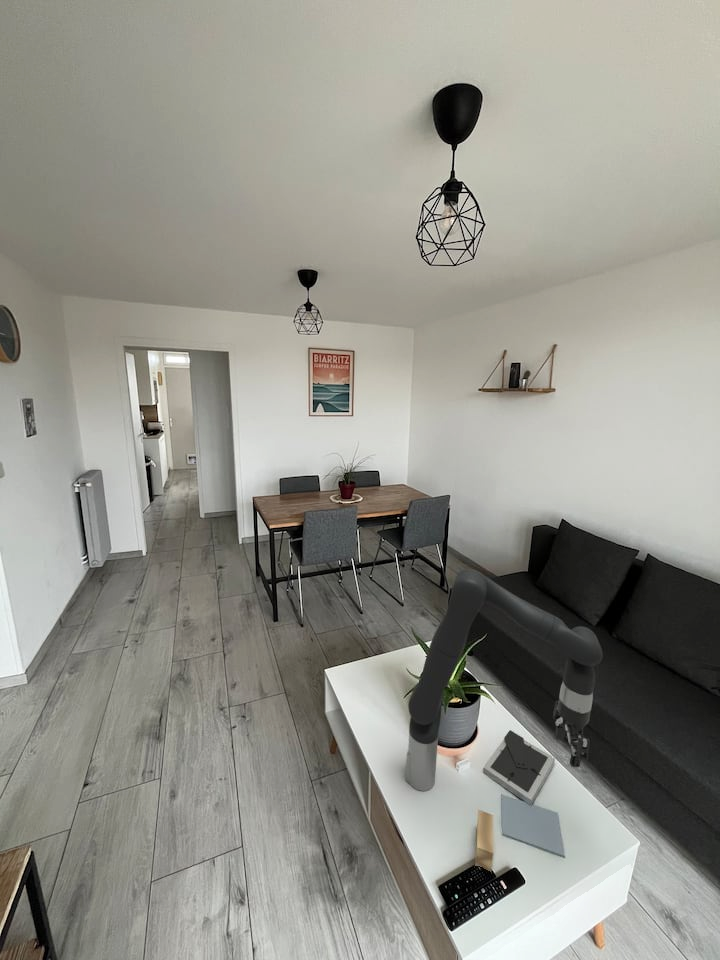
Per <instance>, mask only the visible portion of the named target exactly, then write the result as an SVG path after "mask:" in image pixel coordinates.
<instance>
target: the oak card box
mask: <svg viewBox="0 0 720 960" xmlns="http://www.w3.org/2000/svg"><path fill="white" fill-rule="evenodd" d="M476 819H477V820H476V821H477V822H476V832H475V833H476V835H475V836H476V837H475V838H476V839H475V857H474V858H475V859H474V861H475V863H474V864H475V865H474V867H475V866H480V867H483V868H484V869H486V870H488V871H490V872H491V873H492V869H493V860H494V814H492V813H489V812H486V811H483V810H480V809H478V810H477V818H476Z"/></svg>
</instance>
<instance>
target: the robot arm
mask: <svg viewBox="0 0 720 960" xmlns="http://www.w3.org/2000/svg"><path fill="white" fill-rule="evenodd" d="M484 603H487V604H489V605H490V606H493V607H495V608H496V609H498V610H500V611H501V612H502V613H503V614H505V615H506V616H507V617H508V618H509V619H511V620H512V621H513V622H514V623H515V624H517V625H518V626H519V627H521V628H522V629H523V630H525V631H527V632H528V633H530V634H531V635H534V636H536V637H538V638H539V639H541V640H543V641H545V642H547V643H550V644H551V646H552V645H553V646H554V647H555V648H556V649H557V650H559V651H560V652H562V653H563V654H564V655H565V656H566V662H565V667H564V672H563V679H562V683H561V685H560V690H559V697H558V700H555V703H554V709H553V713H552V718H553V720H555V726H556V727H555V734H554V736H555V738H556V739H557V740H562V741H563V740H564V739H565V734H566V735H567V740H568V744H569V746H570V749H571V754H570V760H569V766H570V767H571V768H580V767H581V761H585V762H588V761H589V755H590V748H591V747H590V745H591V741H590V738H586V737H585V736H584V727H586V726H587V725H588V724H589V722H590V717H591V711H592V705H593V700H594V697H593V695H594V688H595V683H596V673H595V667H594V666H597V665H599V664H601V662H602V660H603V657H604V655H603V654H604V653H603V650H602V647H601V644H600V642H599V640H598V639H599V638H598V637H597V635H596V634H595V633H594V632H593V630H592V629H590V628H588V627H586V626H581V625H580V626H576V627H574V628H572V629H570V628H569V627H568V626H567V625H566V624H565V622H564V621H563V620H562V619H560V618H559V617H558V616H556V615H553V614H551V613H550V612H547V611H546V610H543V609H541V608H540V607H537V606H535V605H533V604H531V603H530V602H528V601H526V600H524V599H522V598H520V597H519V596H517V595H516V594H513V593H512V592H510V591H509V590H507V589H505V588H504V587H503V586H501V585H500V584H498V583H496V582H495V581H493V580H492V579H491V578H489V577H488V576H486V575H485V574H483V573H482V572H480V571H478V570H477V569H474V568H464V569H462V570H459V572H458V573H457V574H456V576H455V578H454V582H453V584H452V588H451V593H450V598H449V602H448V605H447V609H446V612H445V615H444V618H443V619H442V621H441V622H440V624H439V625H438V627H437V629H436V631H435V632H434V634H433V637H432V639H431V642H430V645H429V647H428V650H427V654H426V657H425V661H424V664H423V670H422V673H421V676H420V680H419V682H417V683H416V684H415V686H414V687H413V690H412V692H411V695H410V697H409V700H408V712H409V715H410V720H409V725H408V726H409V727H408V744H407V745H408V748H407V752H406V760H405V761H406V763H405V777H404V778H405V780H404V781H405V782H407V783H408V784H409V785H411V787H413V789H415V790H417V791H422V792H426V791H429V790H431V789H433V787H434V785H435V783H436V773H437V772H436V770H437V758H438V755H437V754H438V743H439V741H438V739H439V730H440V726H441V725H440V724H441V717H442V708H443V707H442V705H443V694H444V692H445V689H446V687H447V685H448V684H449V682H450V680H451V678H452V676H453V674H454V672H455V670H456V668H457V666H458V664H459V663H460V660H461V657H462V655H463V652H464V650H465V648H466V647H465V646H466V643H467V640H468V635H469V632H470V629H471V626H472V624H473V622H474V620H475V618H476V616H477V614H478V612H480V609H481V608H482V606H483V605H484ZM573 739H574V740H575V739H576V741H574V740H573Z"/></svg>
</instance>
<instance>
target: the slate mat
mask: <svg viewBox="0 0 720 960" xmlns="http://www.w3.org/2000/svg"><path fill="white" fill-rule="evenodd" d="M500 797H501V798H500V799H501V801H500V802H501V803H500V804H501V806H500V807H501V832H502V833H501V836H503V837H505V838H508V839H511V840H514V841H517V842H520V843H522V844H525V845H528V846H531V847H534V848H537V849H540V850H542V851H545V852H548V853H550V854H553V855H556V856H559V857H562V858H566V854H565V853H566V852H565V846H564V842H563V841H564V840H563V835H562V829H561V823H560V816H559V812H557V811H554V810H551V809H548V808H545V807H542V806H539V805H535V804H534V803H532V805H529V804H528V803H526V802H525V801H523V800H522V799H517V798H514V797H511V796H509V795H505V794H501V796H500Z"/></svg>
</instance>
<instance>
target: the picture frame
mask: <svg viewBox="0 0 720 960" xmlns="http://www.w3.org/2000/svg"><path fill="white" fill-rule="evenodd" d="M552 757H553V758H552ZM555 761H556V757H555V756H553V755H551V754H549V753H548V752H545V751H544V750H542V749H540V748H539V747H537V746H535V745H534V744H532V743H530V742H528V741H527V740H525V739H524V737H522V736H521V735H519V734H518V733H515V731H513V730H510V729H509V731H508V732H507V733H506V734H505V736H504V737H503V740H502V742H501V743H499V745H498V747H497V748H496V749H495V751H494V753H492V755H491V756H490V758H489V759H488V760H487V762H486V763H485V764H484V765H483V768H482V773H483V774H484V775H486V776H487V777H489V778H490V779H491V780H493V781H494V782H496V783H497V784H499V785H501V787H503V788H505V789H506V790H507V791H508V792H510V793H512V794H513V795H515V796H516V797H518V798H519V799H520V800H521V801H524V802H526V803H528V804H529V805H532V804H534V801H535V800H536V798H537V796H538V794H539V793H540V790H541V789H542V787H543V785H544V783H545V782H546V779H547V778H548V776H549V774H550V772H551V770H552V769H553V767H554V765H555Z"/></svg>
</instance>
